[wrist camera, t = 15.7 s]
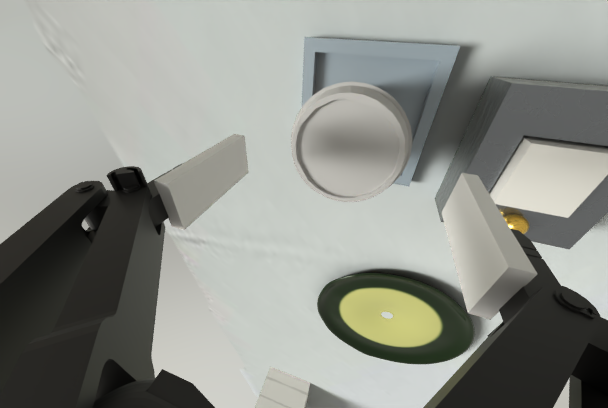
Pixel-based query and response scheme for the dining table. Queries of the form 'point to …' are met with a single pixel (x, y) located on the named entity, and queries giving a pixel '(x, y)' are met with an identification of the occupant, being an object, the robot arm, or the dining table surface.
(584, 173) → the button
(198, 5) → the dining table surface
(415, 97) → the tray
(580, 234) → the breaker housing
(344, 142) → the disposable coffee cup
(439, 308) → the plate
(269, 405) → the pizza boxes
